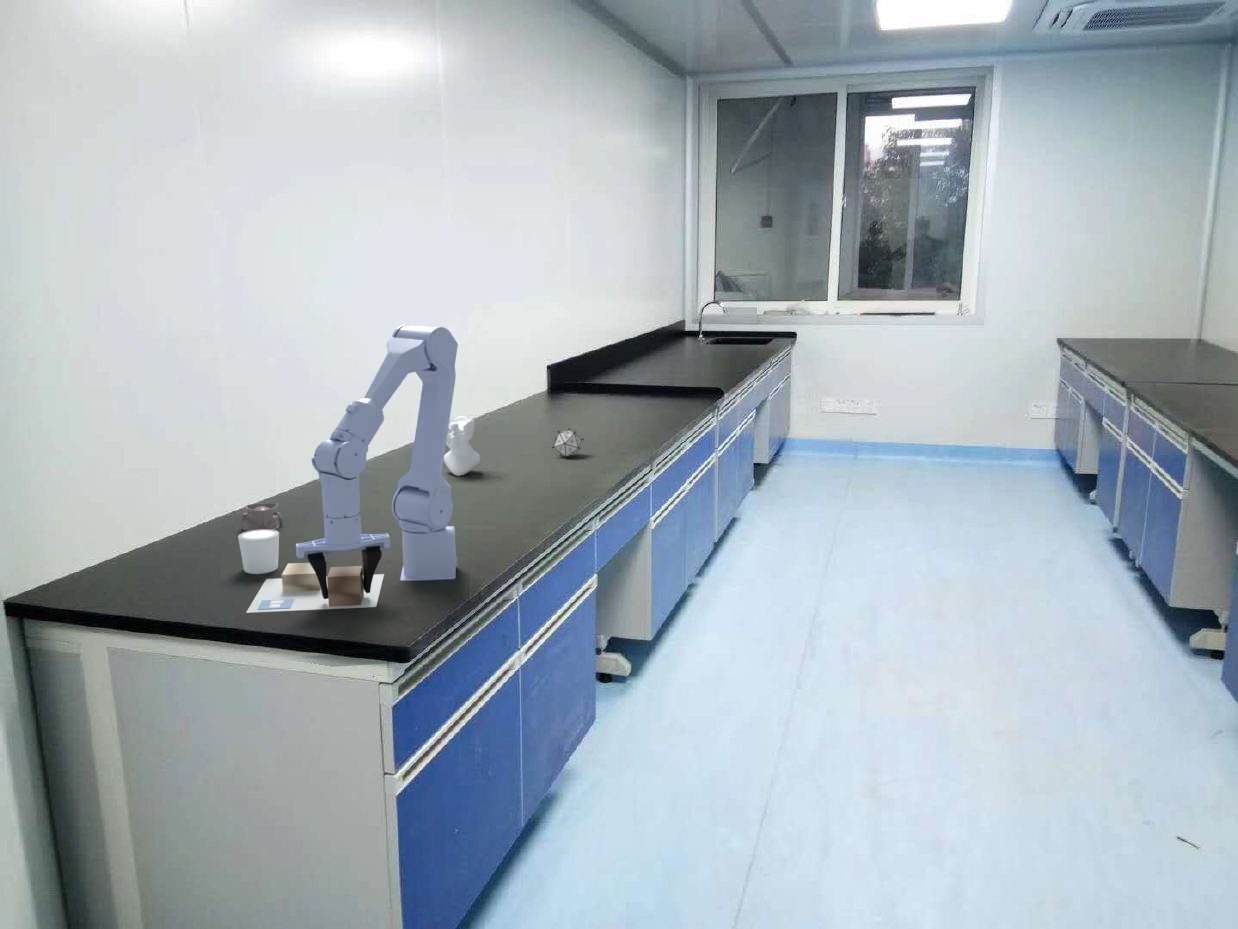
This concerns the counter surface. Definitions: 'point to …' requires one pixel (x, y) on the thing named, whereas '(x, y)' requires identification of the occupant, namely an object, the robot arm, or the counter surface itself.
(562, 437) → the game die
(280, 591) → the plate
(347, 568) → the walnut block
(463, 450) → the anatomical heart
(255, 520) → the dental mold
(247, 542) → the white tapered cup
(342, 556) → the counter surface
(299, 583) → the maple base block
